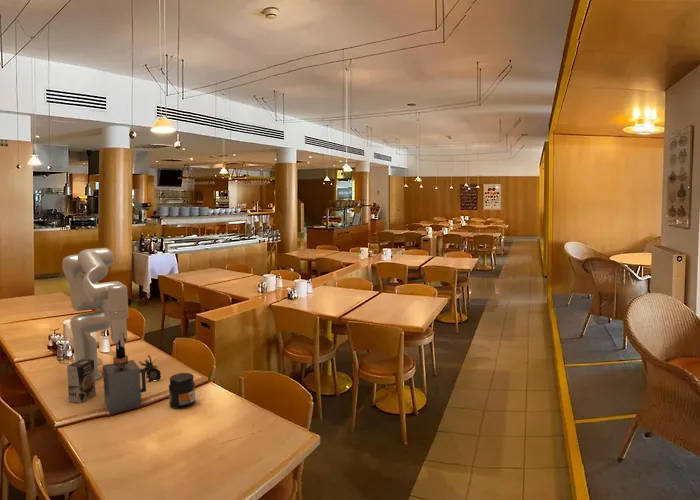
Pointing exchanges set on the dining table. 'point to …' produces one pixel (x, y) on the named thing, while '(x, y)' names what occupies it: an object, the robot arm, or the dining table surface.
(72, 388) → the coffee box
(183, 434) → the dining table surface
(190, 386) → the supplement container
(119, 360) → the plunger
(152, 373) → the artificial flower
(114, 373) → the press pot
